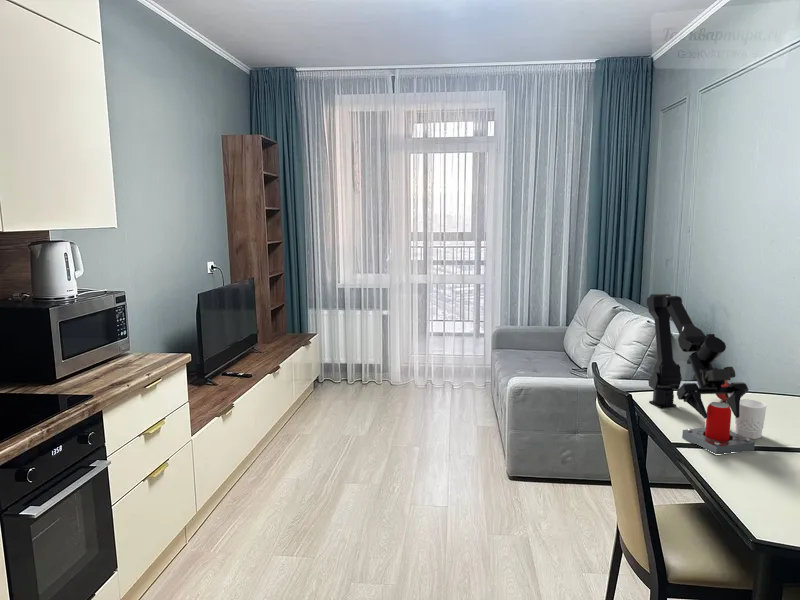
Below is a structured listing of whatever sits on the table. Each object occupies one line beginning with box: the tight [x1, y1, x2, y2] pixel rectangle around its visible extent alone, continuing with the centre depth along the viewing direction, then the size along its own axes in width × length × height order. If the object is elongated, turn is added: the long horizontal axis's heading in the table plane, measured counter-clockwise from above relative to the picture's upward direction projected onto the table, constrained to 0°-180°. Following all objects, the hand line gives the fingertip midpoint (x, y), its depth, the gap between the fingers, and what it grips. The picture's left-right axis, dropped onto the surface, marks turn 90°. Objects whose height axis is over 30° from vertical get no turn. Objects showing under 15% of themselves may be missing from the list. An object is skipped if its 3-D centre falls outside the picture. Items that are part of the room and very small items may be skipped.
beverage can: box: [705, 401, 732, 441], centre depth 164 cm, size 6×6×12 cm
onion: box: [715, 380, 731, 402], centre depth 200 cm, size 6×6×8 cm
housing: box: [681, 426, 756, 455], centre depth 164 cm, size 13×13×3 cm
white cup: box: [734, 398, 767, 440], centre depth 170 cm, size 8×8×10 cm
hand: (722, 417), depth 162 cm, fingers open, 9 cm apart
